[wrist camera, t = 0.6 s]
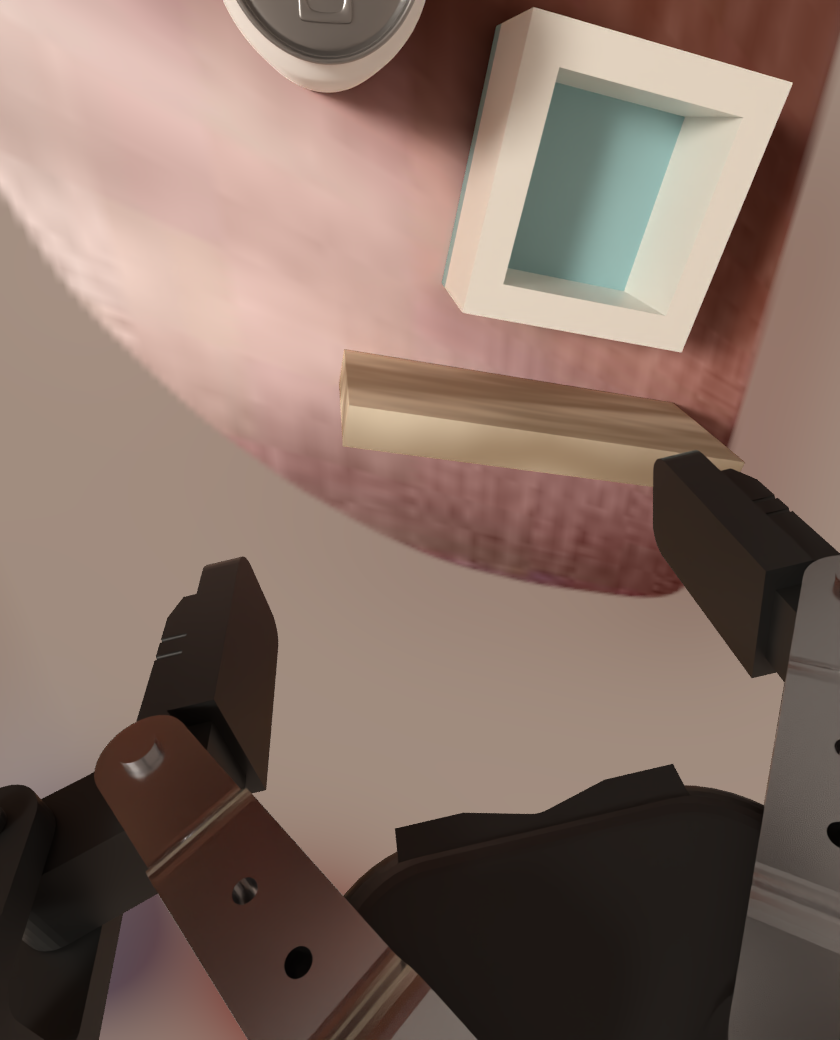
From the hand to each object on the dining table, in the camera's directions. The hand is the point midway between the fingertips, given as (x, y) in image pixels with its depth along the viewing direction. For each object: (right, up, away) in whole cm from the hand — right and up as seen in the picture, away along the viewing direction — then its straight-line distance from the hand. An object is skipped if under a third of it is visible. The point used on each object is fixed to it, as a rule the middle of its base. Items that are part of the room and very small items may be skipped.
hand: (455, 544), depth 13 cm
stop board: (+5, +8, +25) cm, 27 cm away
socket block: (+7, +17, +20) cm, 27 cm away
